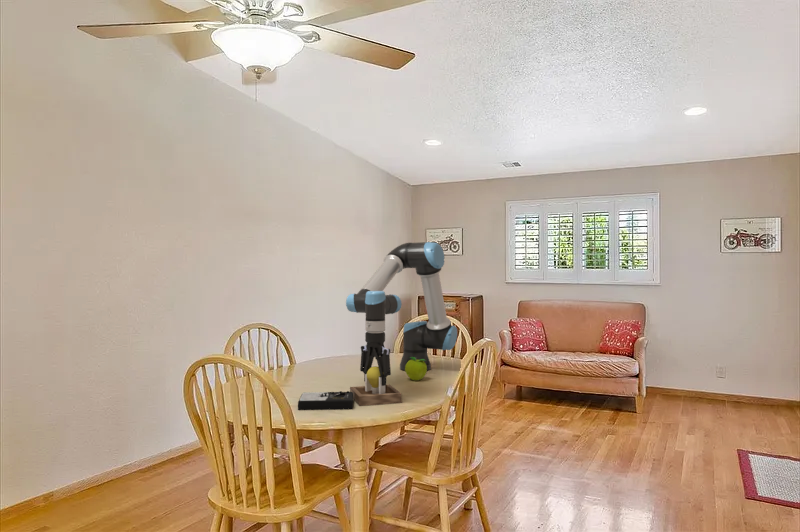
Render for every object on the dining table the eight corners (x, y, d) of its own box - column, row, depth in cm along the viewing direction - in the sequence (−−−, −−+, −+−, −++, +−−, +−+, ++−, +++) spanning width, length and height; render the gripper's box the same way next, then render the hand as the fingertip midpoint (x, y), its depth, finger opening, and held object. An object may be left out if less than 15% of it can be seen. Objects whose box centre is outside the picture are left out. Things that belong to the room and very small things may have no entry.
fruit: (415, 376, 246) (415, 354, 246) (430, 380, 239) (430, 357, 239) (401, 379, 239) (401, 357, 239) (416, 383, 233) (416, 360, 233)
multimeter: (352, 410, 190) (352, 396, 190) (297, 411, 189) (297, 397, 189) (353, 401, 203) (353, 388, 203) (302, 402, 202) (302, 388, 202)
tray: (389, 392, 215) (389, 384, 215) (401, 402, 199) (401, 393, 199) (350, 395, 210) (350, 387, 210) (359, 406, 195) (359, 396, 195)
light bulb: (366, 390, 208) (366, 364, 208) (383, 390, 208) (383, 364, 208) (366, 395, 201) (366, 368, 201) (384, 394, 202) (384, 368, 202)
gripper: (350, 330, 208) (350, 389, 209) (387, 334, 195) (386, 398, 195) (364, 328, 214) (364, 386, 214) (401, 333, 201) (400, 394, 201)
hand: (375, 392), depth 205 cm, fingers closed on light bulb, 7 cm apart
